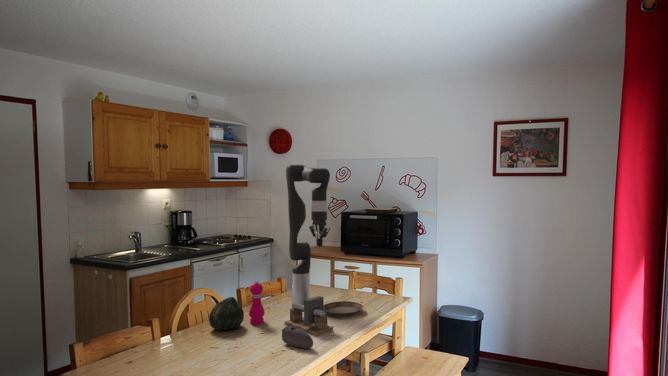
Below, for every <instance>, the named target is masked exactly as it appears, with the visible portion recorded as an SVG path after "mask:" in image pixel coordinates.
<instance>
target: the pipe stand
mask: <svg viewBox="0 0 668 376" xmlns="http://www.w3.org/2000/svg"><path fill="white" fill-rule="evenodd" d="M283 322H284V326H286V327H287V326H290V327H294V328H297V329H300V330H302V331H304V332H306V333H307V334H309V335H310V336H311V335H312V336H315V337H319V336H321V335H325V334H327V333H330V332H333V331H334V327H333V326H331V325H328V315H327V314H326V315H325V316H324V317H322V318H321V317H318V316H315V317H314V323H313V324H310V325H307V324H304V316H303V312H302V311H298V310H296V309H293V308H292V307H291V308H289V320H285V321H283Z"/></svg>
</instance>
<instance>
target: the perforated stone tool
mask: <svg viewBox="0 0 668 376" xmlns="http://www.w3.org/2000/svg"><path fill="white" fill-rule="evenodd" d="M281 340H282V341H283V342H284V343H285V344H287V345H289V346H291V347H296V348H298V349H299V348H300V349H311V348H312V347H313V345H314V341H313V338H312V337H311V334H309V333H306V332H304V331H302V330H300V329H297V328H294V327H290V326H287V325H286V326H284V327H283V329H282V330H281Z"/></svg>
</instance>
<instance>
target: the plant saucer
mask: <svg viewBox="0 0 668 376" xmlns="http://www.w3.org/2000/svg"><path fill="white" fill-rule="evenodd" d="M363 309H364V305H363V304H361V303H359V302H356V301H350V300H347V301H346V300H341V301H332V302H328V303H326V304H324V311H325V313H326V315H327V316H329V317H332V318H343V319H344V318H350V317H351V318H352V317H354V316H355V317H356V316H357V315H359V313H360V312H361V311H362V310H363Z"/></svg>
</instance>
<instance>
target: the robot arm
mask: <svg viewBox="0 0 668 376" xmlns="http://www.w3.org/2000/svg"><path fill="white" fill-rule="evenodd" d="M285 177H286V186H287V188H286V189H287V199H288V201H287V202H288V203H287V204H288V205H287V207H288V223H289V224H288V225H289V228H288V229H289V241H288V243H289V244H288V252H289V254H288V255H289V257H290V260H291V261H293V262H294V261H300V262H299V263H298V264H296V265H295V266H293V267H292V271H291V272H292V286H291V305H292V304H293V303H294V302H295V303H299V304H302V305H304V299H308V298H311V283H310V282H311V274H310V273H311V270H310V269H311V255H312V250H311V245H310V243H308V242H304V241H303V242H298V238H299V237H298V235H299V234H300V231H301V229H302V227H303V225H304V224H305V221H306V218H307V215H306V214H307V211H306V205H305V202H304V201H303V199H302V198H301V196H300V195H299V193H298V191H297V189H296V185H295V183H296V182H297V183H299V182H305V181H306V182H308V183H310V184H320V186H319V187H316V188H313V189H312V190H311V205H310V207H311V209H310V210H311V215H310V217H311V221H312V224H311V225H310V226H309V227H308V229H309V231H310V232H311V234H312V237H313V238H315V239H316V240H315V241H316V247H319V248H321V247H323V244H324V243H323V241H324V240H323V239H324V238H326V237H327V235H328V233H329V232H330V230H331V228H330V227H328V225H327V221H328V204H327V203H328V202H327V190H328V187H329V186H328V185H329V183H330V179H331V174H330V171H329V170H328V169H327V168H317V167H316V168H315V167H308V166H306V165H304V164H288V165H287V166H286V168H285Z"/></svg>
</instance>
